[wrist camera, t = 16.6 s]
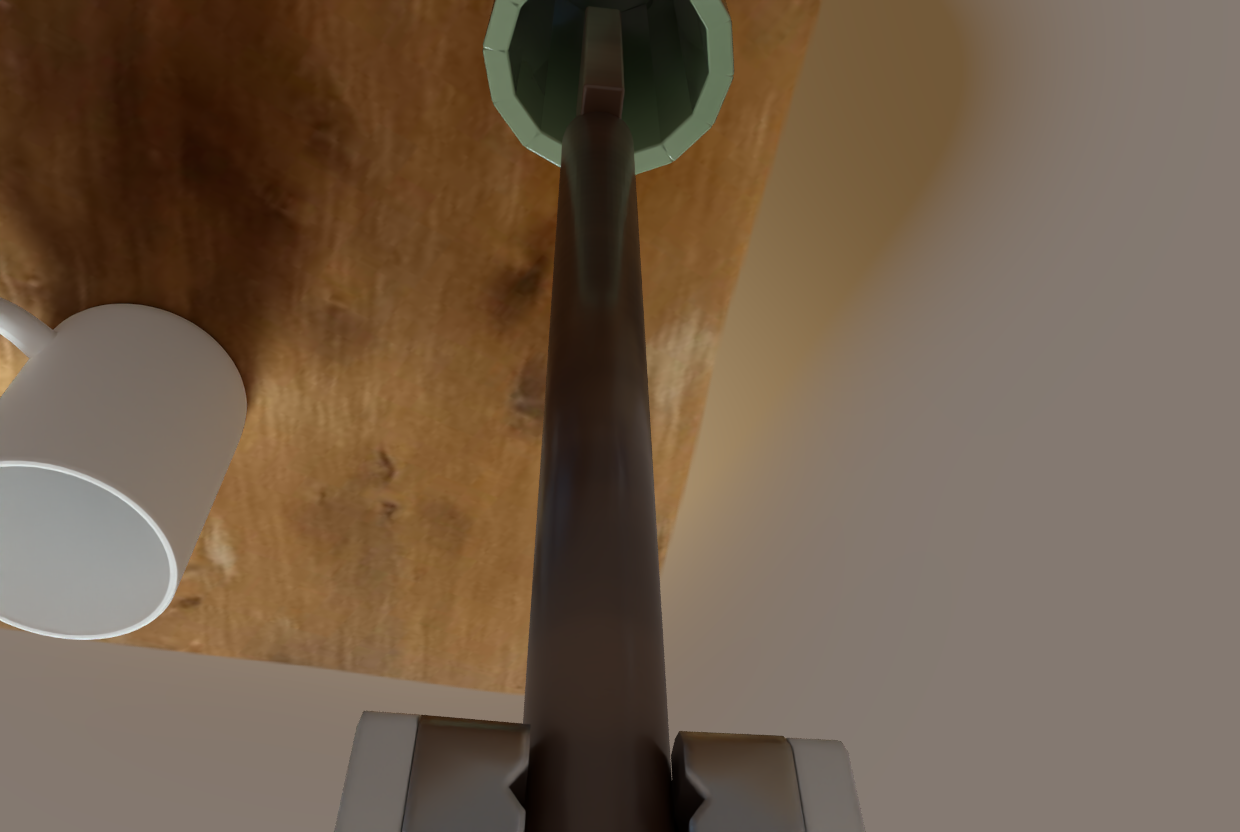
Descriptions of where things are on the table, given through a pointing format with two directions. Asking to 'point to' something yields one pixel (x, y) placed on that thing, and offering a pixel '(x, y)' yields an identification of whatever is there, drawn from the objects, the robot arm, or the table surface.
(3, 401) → the cup
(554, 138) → the crock
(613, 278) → the dark wooden dowel
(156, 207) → the table surface
